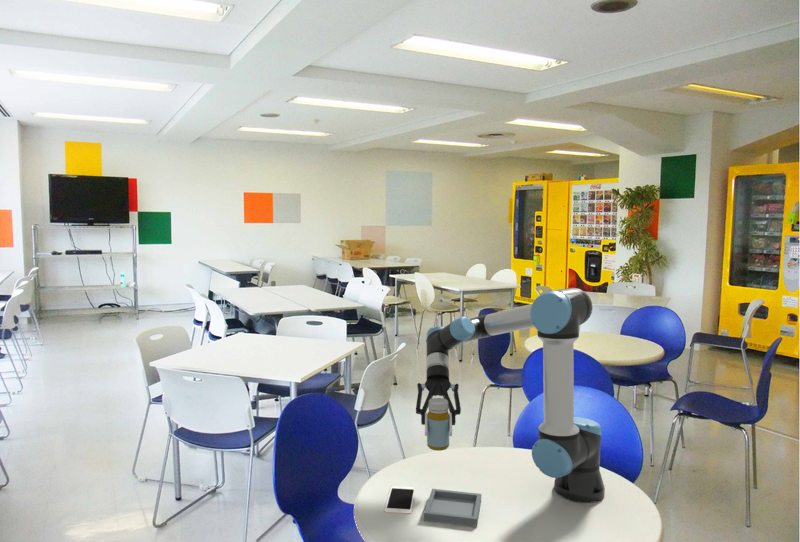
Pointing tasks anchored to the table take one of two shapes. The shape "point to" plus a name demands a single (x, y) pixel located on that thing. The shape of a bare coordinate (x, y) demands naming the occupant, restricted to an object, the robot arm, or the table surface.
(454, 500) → the tray
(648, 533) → the table surface
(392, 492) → the cell phone
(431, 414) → the bottle
